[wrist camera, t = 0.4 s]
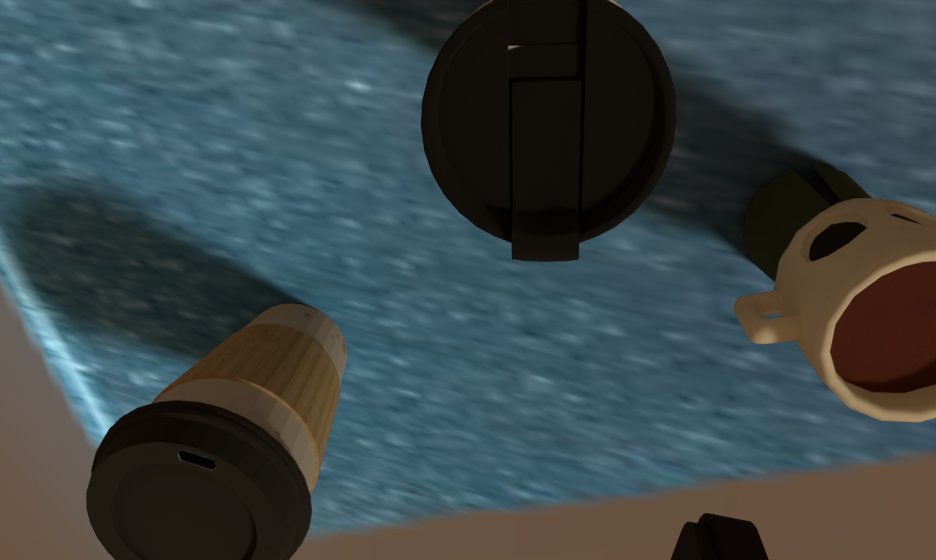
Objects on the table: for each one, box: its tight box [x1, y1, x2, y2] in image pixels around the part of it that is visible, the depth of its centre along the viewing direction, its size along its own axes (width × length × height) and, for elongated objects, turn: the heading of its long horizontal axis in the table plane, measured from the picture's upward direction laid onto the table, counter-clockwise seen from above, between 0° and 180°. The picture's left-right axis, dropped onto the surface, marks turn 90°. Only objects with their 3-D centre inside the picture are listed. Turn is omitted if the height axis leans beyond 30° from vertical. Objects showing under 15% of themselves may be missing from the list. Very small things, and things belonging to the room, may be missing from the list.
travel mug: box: [421, 0, 677, 262], centre depth 26 cm, size 6×7×20 cm
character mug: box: [733, 165, 936, 422], centre depth 31 cm, size 11×7×13 cm, turn 103°
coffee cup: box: [86, 303, 347, 560], centre depth 36 cm, size 10×10×15 cm
